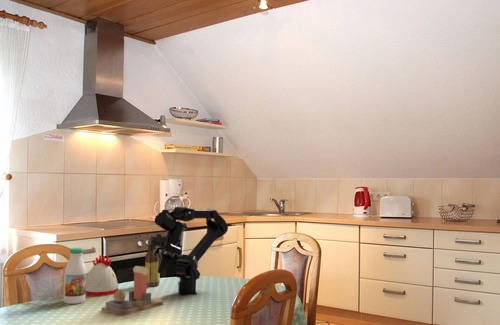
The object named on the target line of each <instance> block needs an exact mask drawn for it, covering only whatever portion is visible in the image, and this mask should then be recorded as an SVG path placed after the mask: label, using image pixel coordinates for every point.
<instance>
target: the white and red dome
mask: <svg viewBox="0 0 500 325" xmlns="http://www.w3.org/2000/svg"><path fill="white" fill-rule="evenodd" d="M112 260H113V259H109V256H108V255H107V256H106V257H105V255H101V254H100V255H99V256H98V257H95V260H94V259H92V264H93V266H92V267H91V269H90V270H89V271H88V273H86V292H85V294H86V295H85V296H89V295H93V297H102V295H105V296H110V295H111V294H112V295H114V294H115V292H116V291H119V283H118V279H117V276H116V274H115V272H114V269H112V267H111V266H110V265H111V263H112ZM112 295H111V296H112Z"/></svg>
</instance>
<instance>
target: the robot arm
mask: <svg viewBox="0 0 500 325" xmlns="http://www.w3.org/2000/svg"><path fill="white" fill-rule="evenodd" d="M194 219H195V220H196V219H205V224H206V233H205V234H204V235H203V236H202V238H201V239H200V241H199V242H198V243H197V244H196V245H195V246H194V247H193V248H192V250H191V251H190V253H188V254H182V253H183V250H182V248H181V247H179V246H178V245H179V244H180V243H181V241H182V239H181V237H182V235H183V232H184V231H188V229H189V228H188V226H187V223H186V222H190V221H193V220H194ZM154 223H155V225H156V226H158V227H160V228H161V229H162V230H164V231H166V234H165V235H162V234H161V233H157V234H156V235H155V236H150V237H148V240H149V245H148V244H147V247H148V246H157V249H155V250H154V251H153V253H152V254H153V255H155V256H157V257H158V258H159V262H158V270H157V272H158V273H160V274H161V273H162V272H164V270H165V269H166V268H167V267H168V266H169V265H170V264H171V263H172V262H173V261H174V260H175V257H174V256H175V255H176V257H179V258H178V259H176V262H175V264H174V271H175V276H176V278H178V279H179V281H178V284H177V285H178V286H177V288H178V289H177V291H178V293H179V294H180V295H181V296H189V295H197V294H198V293H197V292H196V291H197V289H196V288H197V281H198V279H200V277H201V273H200V271H199V270H198V268H199V267H198V265H199V261H200V260H201V258H202V257H203V256H204V255H205V253H206V252H207V251H208V250H209V249H210V247H211V246H212V245H213V244H214V242H215V241H216V240H218V239H219V238H222V237H223V236H224V235H226V234H227V232H228V230H229V226H228V225H229V224H228V223H227V222H226V220H225V218H223V216H221V215H220V214H219V212H218V211H217V210H216V209H210V208H209V209H208V208H207V209H194V208H191V207H187V206H175V207H174V208H173V210H171V211H170V212H169V211H168V210H167V209H162V210H161V212H159V213H158V214H157V215H155V217H154Z"/></svg>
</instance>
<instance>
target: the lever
mask: <svg viewBox="0 0 500 325" xmlns="http://www.w3.org/2000/svg"><path fill="white" fill-rule="evenodd" d="M132 271H133V273H134V278H133V290H134V299H136V300H140V301H143V294H146V293H147V287H148V286H147V274H148V271H149V270H148V268H146V267H145V266H140V265H135V266H134V267H133V270H132Z"/></svg>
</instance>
